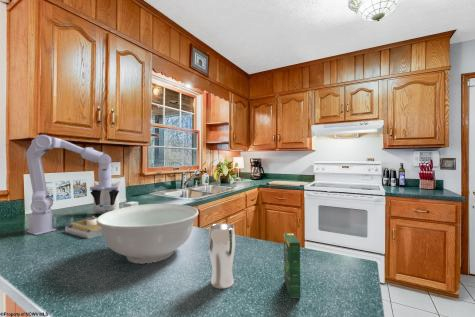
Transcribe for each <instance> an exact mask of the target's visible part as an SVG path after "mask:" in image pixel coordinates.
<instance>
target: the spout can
mask: <svg viewBox="0 0 475 317" xmlns="http://www.w3.org/2000/svg"><path fill="white" fill-rule="evenodd" d="M86 220H87V226H93V225H97V222H96V221H97V218H96V217H95V215H92V216H90V217H89V218H86Z"/></svg>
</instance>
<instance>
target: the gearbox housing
mask: <svg viewBox="0 0 475 317" xmlns="http://www.w3.org/2000/svg"><path fill="white" fill-rule="evenodd" d="M98 217H99V216H98ZM98 217H96V218H98ZM64 230H65V234H70V235H74V236H77V237H81V238H84V239H91V238H95V237H98V236H101V235H103V231H102V228H101V227H100V226H99V225H98V224H97V225H93V226H87V219H84V220H83V219H82V220H80V221H74V222H70V224H68V225H66V226H65V227H64Z"/></svg>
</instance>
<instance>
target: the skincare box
mask: <svg viewBox="0 0 475 317" xmlns="http://www.w3.org/2000/svg"><path fill="white" fill-rule="evenodd" d="M137 205H139V201H128V202H127V201H126V202H124V203H123V204H122V206H123V207H122V208H125V207H130V206H137Z"/></svg>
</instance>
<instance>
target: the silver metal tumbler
mask: <svg viewBox="0 0 475 317" xmlns="http://www.w3.org/2000/svg"><path fill="white" fill-rule="evenodd" d="M208 231H209V232H208V250H209V257H210V262H211V270H212V271H211V279H210V285H211V287H213V288H216V289H219V290H222V289H224V290H225V289H228V288H230V287H232V286H233V285H234V282H235V280H234V276H233V262H234V258H235V257H234V256H235V250H236V235H235V226H234V224H231V223H225V222H223V223H222V222H220V223H219V222H217V223H214V224H211V225H209V230H208Z"/></svg>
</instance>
